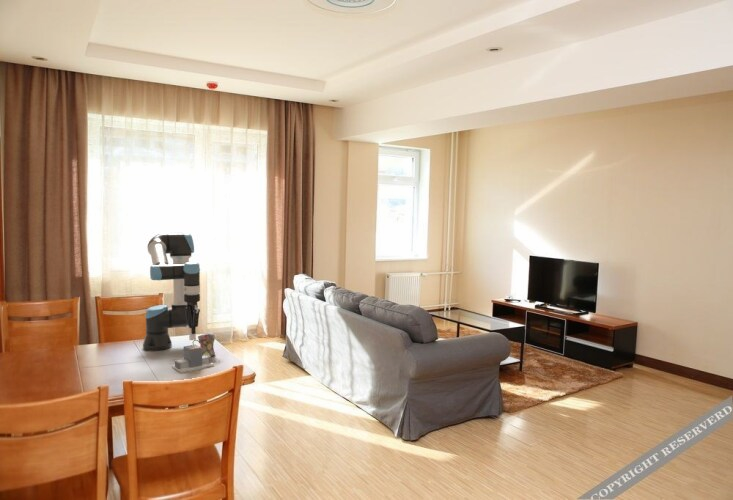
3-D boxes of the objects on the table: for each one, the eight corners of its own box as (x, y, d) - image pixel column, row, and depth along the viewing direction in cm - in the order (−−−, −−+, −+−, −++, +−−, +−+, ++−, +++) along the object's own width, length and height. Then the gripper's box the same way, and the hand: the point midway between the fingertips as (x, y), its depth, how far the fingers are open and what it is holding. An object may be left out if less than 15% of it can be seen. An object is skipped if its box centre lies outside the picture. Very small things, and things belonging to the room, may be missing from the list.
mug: (214, 352, 288) (214, 333, 287) (217, 357, 280) (217, 337, 279) (191, 354, 283) (191, 335, 282) (193, 359, 275) (193, 339, 274)
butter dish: (172, 367, 262) (171, 359, 261) (204, 360, 273) (204, 352, 273) (181, 372, 254) (180, 364, 253) (213, 365, 265) (213, 357, 265)
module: (183, 363, 264) (183, 345, 263) (195, 361, 268) (195, 343, 267) (190, 367, 258) (190, 349, 257) (202, 365, 262) (201, 347, 261)
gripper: (179, 292, 262) (180, 338, 265) (190, 296, 252) (190, 344, 255) (193, 290, 267) (194, 335, 270) (204, 294, 257) (205, 341, 260)
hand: (192, 339), depth 262 cm, fingers closed
